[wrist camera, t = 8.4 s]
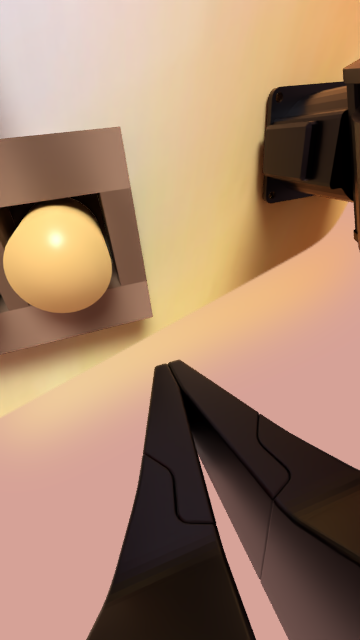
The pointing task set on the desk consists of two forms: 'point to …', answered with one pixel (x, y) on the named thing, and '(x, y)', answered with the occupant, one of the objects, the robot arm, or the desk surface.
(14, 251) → the yellow rounded cylinder
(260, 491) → the robot arm
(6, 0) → the desk surface
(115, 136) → the wooden three-slot tray
